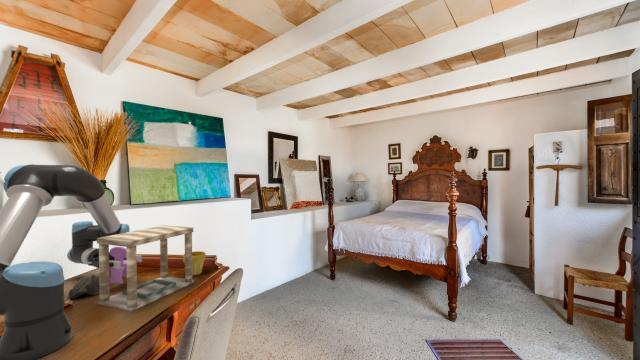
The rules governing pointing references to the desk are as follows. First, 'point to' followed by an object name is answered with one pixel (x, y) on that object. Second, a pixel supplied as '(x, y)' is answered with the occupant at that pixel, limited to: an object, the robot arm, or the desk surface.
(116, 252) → the toy chair
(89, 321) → the desk surface
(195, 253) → the plant pot
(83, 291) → the fossil
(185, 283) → the canopy shelf
